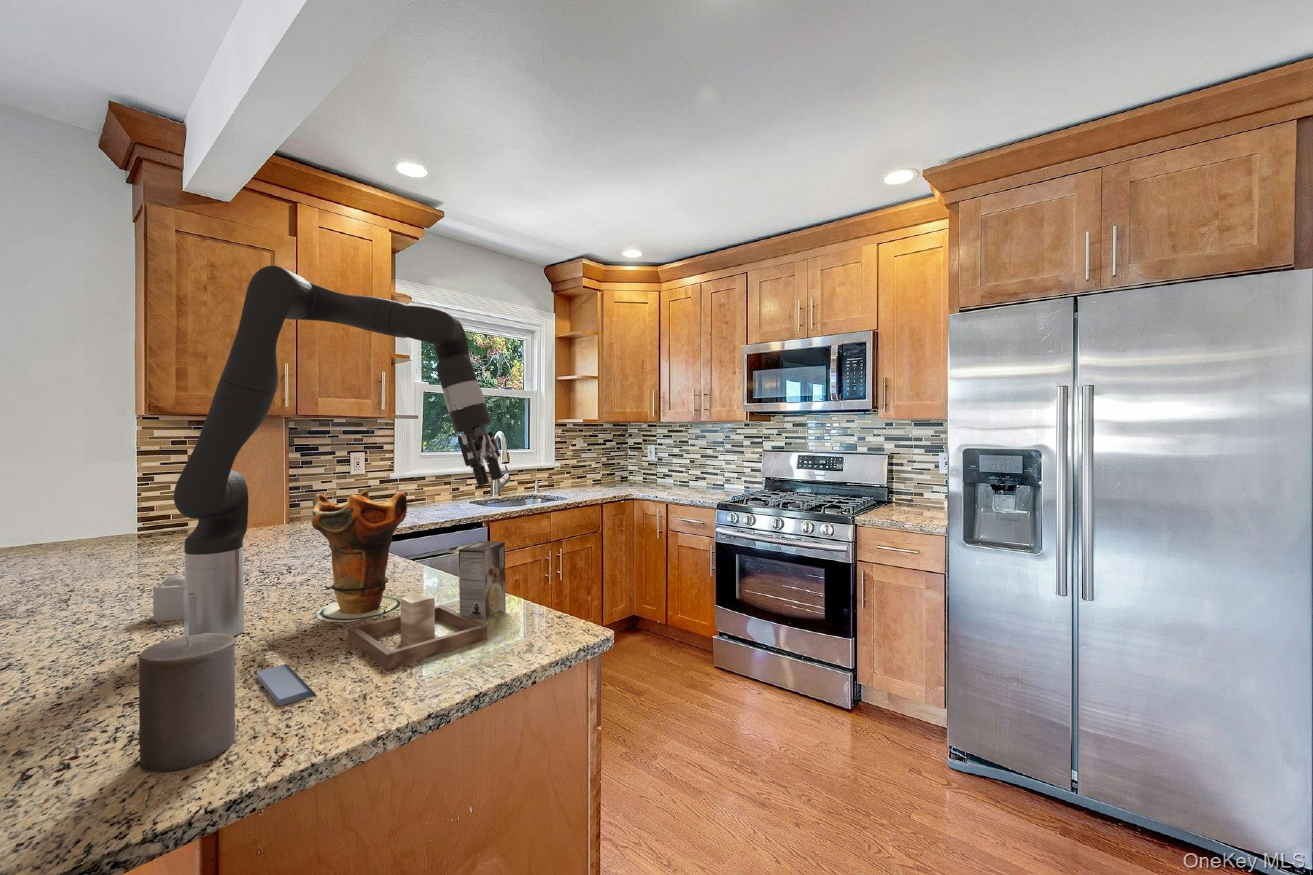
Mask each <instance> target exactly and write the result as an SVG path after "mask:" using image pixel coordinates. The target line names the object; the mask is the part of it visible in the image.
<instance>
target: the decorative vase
mask: <svg viewBox="0 0 1313 875" xmlns="http://www.w3.org/2000/svg"><path fill="white" fill-rule="evenodd" d="M369 494H370V491H369V490H368V489H367V490H366V489H365V490H362V491H361V493H359V494H350V495H349V499H348V501H346V502H343V503H339V504H334V503H331V502H330V501H329V499H328V497H327V496H326V495H325V494H323V493H316V494H315V495H314V496H313V498H312V501H311V502H312V506H313V508H312V509H313V510H312V519H311V527H313V529H314V530H316V531H318V532H319V533H321V535H322V536H324V538H325V539H326V540H327V542H328V543H329V549H330V551H331V566H332V576H333V581H334V582H333V583H332V584H331V586H330V587H329V589H330V590H333V591H334V596H335V598H336V602H335V601H334V602H331V603H329V604H328V605H324V603H325V601H326V599H327V596H328V593H326V595H325V596H324V599H323V603H322V605H321V606H320V607H321V609H319V610H318V611H317V612H316V614H315V616H316V618H317V619H318V620H321V621H325V622H326V623H331V622H332V623H333V622H334V623H338V622H339V623H346V622H347V623H350V622H356V621H360V620H364V619H365V620H366V619H368V618H373V617H378V616H383V615H388V614H390V613H395V612H396V610H401V601H400V599H397V598H394V597H390V596H387V595H385V596H384V594H383V593H384V592H385V591H386V584H387V583H388V582H389V578H388V577H387V576H386V571H387V568H388V567H387V566H388V562H389V554H390V546H391V544H392V542H393V539H392V538H393V535H394V533H395V531H396V529H397V528H398V526H400V524H402V522H403V521H404V520H405V519H406V516H407V510H408V503H407V501H408V500H407V494H405V493H404V492H401V491H398V492H396V493H395V494H394V495H393V496H392V497H391V498H390V499H389V500H388V501H373V500H372V499H371V498H370V495H369ZM381 602H383V603H381ZM380 604H387V605H384V606H380ZM381 607H385V608H381ZM386 607H387V608H386ZM399 607H400V608H399ZM374 610H375V611H374ZM363 615H364V616H363ZM365 615H366V616H365Z"/></svg>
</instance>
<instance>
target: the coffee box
mask: <svg viewBox="0 0 1313 875" xmlns="http://www.w3.org/2000/svg"><path fill="white" fill-rule="evenodd" d="M458 584H459V585H458V586H459V587H458V588H459V591H458V592H459V593H458V594H459V596H458V597H459V598H458V599H459V613H460V614H462V615H465V616H467V617H469V618H471V619H478V620H479V619H480V620H487V619H488V618H490V617H492V616H494V615H495V614H496V613H498V612H499V611H501V612H504V613H506V610H507V609H506V608H507V606H506V604H507V603H506V601H507V600H506V596H507V595H506V541H486V540H485V541H484V540H483V541H482V540H479V541H478V542H477V541H476V542H475V543H472V544H469V545H467V546H465V547H462V548H460V549H459V548H458Z"/></svg>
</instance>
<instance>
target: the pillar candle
mask: <svg viewBox="0 0 1313 875" xmlns="http://www.w3.org/2000/svg"><path fill="white" fill-rule="evenodd" d="M138 658H139V661H138V662H139V663H138V677H139V678H138V711H139V719H138V720H139V721H138V723H139V725H138V727H139V730H138V731H139V735H138V738H139V740H138V745H139V761H138V766H139V768H140V769H141V770H142V771H144V772H147V773H165V772H167V773H168V772H173V771H178V770H182V769H186V768H187V769H188V768H191V767H195V766H197V765H200V764H202V763H205V762H207V761H209V760H212V759H213V758H215V757H217V756H219V755H221V754H222V753H224V752H225V751H226V750H229V748H230V747H231V746H232V745H233V743H234V742H235V740H236V739H235V738H236V737H235V735H236V730H235V729H236V677H235V676H236V660H235V659H236V636H232V635H228V634H221V633H203V634H196V635H190V636H184V635H183V636H181V637H175V638H171V639H167V640H164V641H161V642H158V643H156V644H153V645H151V646H149V647H147V648H145V649H144V650H142V651H141V652H140V654H139V657H138Z"/></svg>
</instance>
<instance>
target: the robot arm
mask: <svg viewBox="0 0 1313 875" xmlns="http://www.w3.org/2000/svg"><path fill="white" fill-rule="evenodd" d="M239 319H240V320H239V323H238V328H237V331H236V334H235V337H234V340H233V342H232V346H231V349H230V352H229V354H228V358H227V360H226V363H225V365H224V368H223V370H222V373H221V375H220V378H219V381H218V383H217V386H216V389H215V392H214V395H213V398H212V401H211V405H210V407H209V409H208V412H207V415H206V418H205V420H204V421H203V422H204V423H203V425H202V427H201V430H200V433H199V437H198V439H197V441H196V444H195V446H194V448H193V450H192V452H191V454H190V455H189V458H188V459H187V461H186V464H185V465H184V467H183V470H182V471H181V473H180V475H179V477H178V480H177V482H176V484H175V488H174V490H173V502H174V506H175V508H176V509H177V511H178V512H179V513H180V514H181V515H182V516H183V517H185V518H188V519H193V520H194V519H196V520H198V521H197V524H196V527H195V528H194V530H193V531H192V532H191V533H190V534H188V536H186V538H185V539H184V544H183V546H184V572H185V589H184V591H183V601H184V619H183V637H184V636H190V635H196V634H203V633H221V634H228V635H232V636H233V637H236V636H237V635H240V634H242V633H243V632H244V630H245V596H244V594H245V593H244V592H245V591H244V538H245V535H246V533H247V531H248V523H249V522H248V521H249V487H248V485H247V482H246V479H245V478H244V477H243V476H242V474H241V473H239V472H238V471H236V470H234V469H232V468H233V465H234V464H235V460H236V458H237V457H238V454H239V452H240V451H241V449H242V448H243V446H244V445H245V444H246V443H247V442H248V440H249V439H251V437H252V435H254V433H255V432H256V431H257V430H258V428H259V427H260V426H261V425H262V423H263V422H264V421H265V419H266V417H267V416H268V413H269V412H270V409H271V407H272V405H273V404H272V403H273V400H274V398H275V395H276V393H277V389H278V384H279V368H278V367H279V366H278V356H277V345H278V344H277V343H278V341H279V340H278V339H279V336H280V333H281V330H282V328H283V324H284V322H285V321H286V320H298V321H299V320H301V321H316V322H317V321H319V322H327V323H329V322H330V323H335V324H340V325H346V326H350V327H354V328H356V329H357V328H358V329H361V330H365V331H369V332H372V333H377V334H381V335H386V336H390V337H395V338H401V339H402V338H404V339H407V338H408V339H413V340H416V341H420V342H425V343H427V344H428V343H429V344H431V345H433V346H434V349H435V353H436V357H437V361H438V362H437V363H436V372H437V376H438V379H439V383H440V387H441V389H442V392H443V397H444V398H443V399H444V403H445V406H446V409H447V411H448V415H449V418H450V422H451V424H452V429H453V430H454V433H456V434H462V435H460V436H458V437H457V441H458V444H459V448H460V451H461V454H462V458H463V460H464V461H463V462H464V464H465V466H466V467H468V466H469V467H470V468H471V469H472V471H473V472H472V473H473V475H474V478H475V481H476V484H477V486H479V487H481V486H484V485H487V484H489V483H490V479H489V476H488V472H489V475H490V478H491V480H493V481H497V480H499V479H502V478H503V474H502V469H501V467H500V464H499V457H500V458H501V453H500V450H499V448H498V445H497V442H496V439H495V435H494V431H492V430H489V431H487V430H486V428H485V427H487V426H489V425H491V424H492V418H491V416H490V413H489V410H488V406H487V403H486V400H485V396H484V394H483V391H482V388H481V386H480V384H479V381H478V379H477V376H476V373H475V370H474V366H473V363H472V362H471V358H470V352H469V349H470V348H469V343H468V340H467V339H468V338H467V334H466V331H465V328H464V327H463V326H464V325H462V322H461V321H460V320H459V319H458V318H457V317H456V316H454V315H452V314H450V313H449V312H447V311H445V310H442V309H438V308H433V307H430V306H428V307H427V306H421V305H411V304H408V303H404V302H399V301H397V300H396V301H395V300H391V299H386V298H383V297H376V296H370V295H356V294H355V295H354V294H346V293H341V292H337V291H334V290H330V289H327V288H325V287H322V286H320V285H317V284H315V283H312V282H311V281H308V280H306V278H304V277H303V276H300V275H298V274H296V273H294V272H291V271H290V270H288V269H286V268H284V267H281V266H278V265H266V266H264V267H262V268H260V269H259V270H256V272H255V273H254V274H253V275H252V277H251V279H250V281H249V282H248V286H247V289H246V293H245V297H244V303H243V306H242V311H241V316H240V318H239ZM484 461H485V463H486V465H487V469H488V472H487V469H486V467H485V464H484Z"/></svg>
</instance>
